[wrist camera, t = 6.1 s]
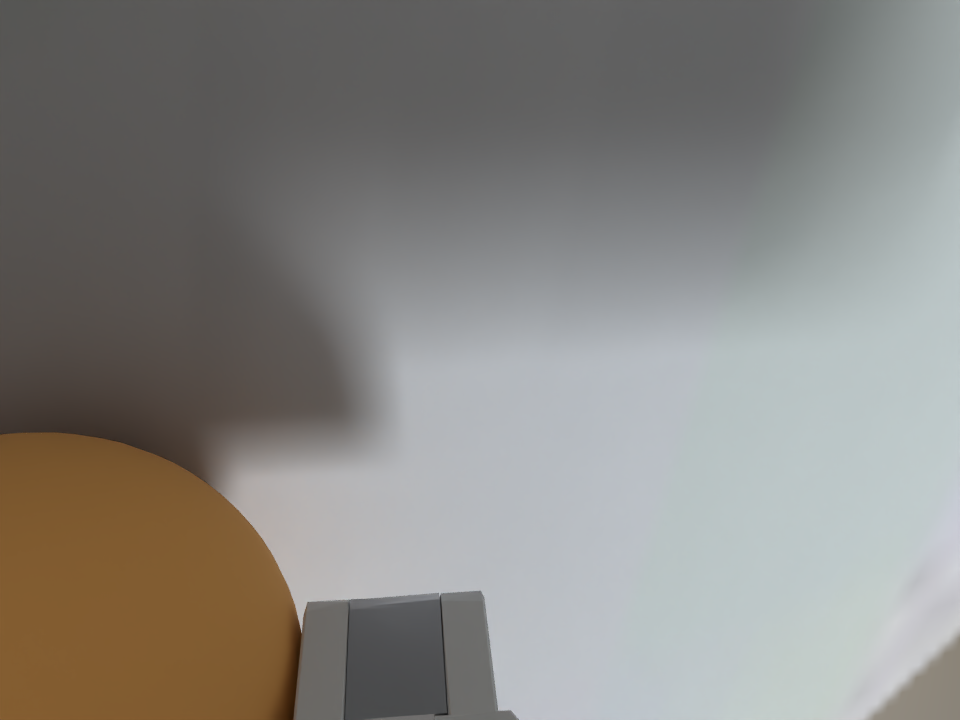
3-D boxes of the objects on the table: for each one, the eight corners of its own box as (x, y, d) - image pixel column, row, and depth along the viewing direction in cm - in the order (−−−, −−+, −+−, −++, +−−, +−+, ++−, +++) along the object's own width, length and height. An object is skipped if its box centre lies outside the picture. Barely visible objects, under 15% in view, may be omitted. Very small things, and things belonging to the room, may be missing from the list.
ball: (424, 724, 12) (141, 1303, 7) (100, 636, 14) (-279, 1040, 10) (347, 359, 9) (-206, 930, 4) (-46, 318, 11) (-703, 673, 7)
